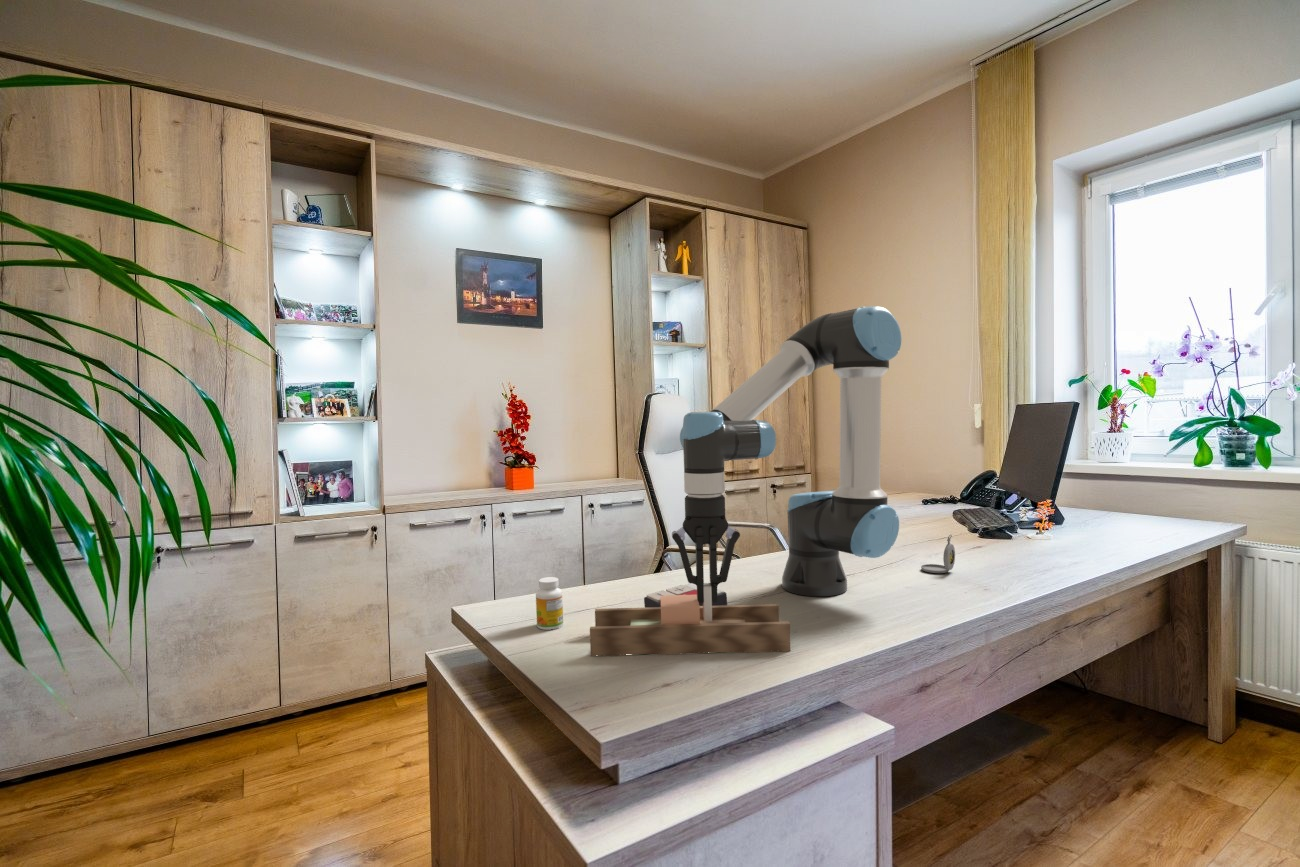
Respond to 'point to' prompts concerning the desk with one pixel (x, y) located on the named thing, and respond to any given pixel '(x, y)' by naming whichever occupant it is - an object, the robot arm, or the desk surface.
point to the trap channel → (689, 631)
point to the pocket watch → (947, 558)
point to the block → (680, 609)
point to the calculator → (687, 589)
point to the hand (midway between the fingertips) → (707, 618)
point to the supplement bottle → (549, 604)
